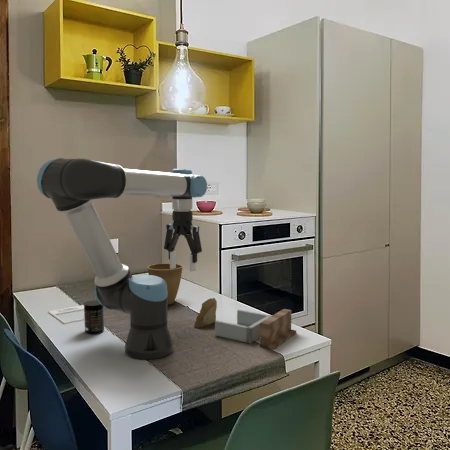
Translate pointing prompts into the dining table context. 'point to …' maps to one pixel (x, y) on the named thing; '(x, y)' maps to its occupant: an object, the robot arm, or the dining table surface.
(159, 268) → the plant pot
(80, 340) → the dining table surface
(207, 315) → the rock
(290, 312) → the wall
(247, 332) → the tray
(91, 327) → the supplement container
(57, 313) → the photo frame
